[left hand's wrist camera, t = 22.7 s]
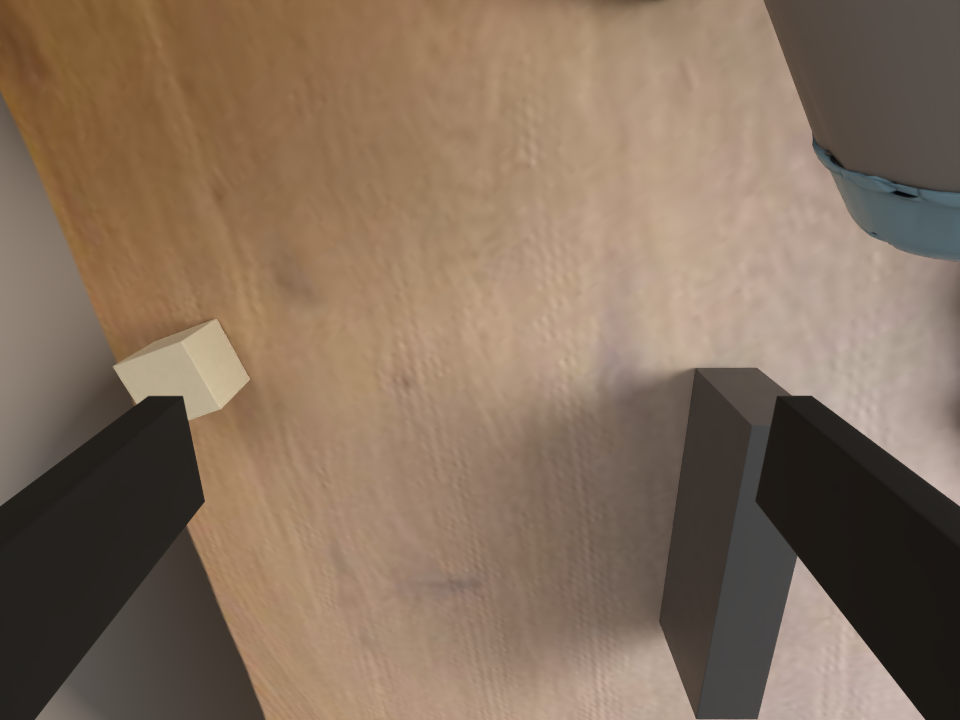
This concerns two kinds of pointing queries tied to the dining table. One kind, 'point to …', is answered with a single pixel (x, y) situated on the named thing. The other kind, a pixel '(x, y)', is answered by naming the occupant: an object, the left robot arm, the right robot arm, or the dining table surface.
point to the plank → (725, 549)
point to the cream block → (186, 369)
